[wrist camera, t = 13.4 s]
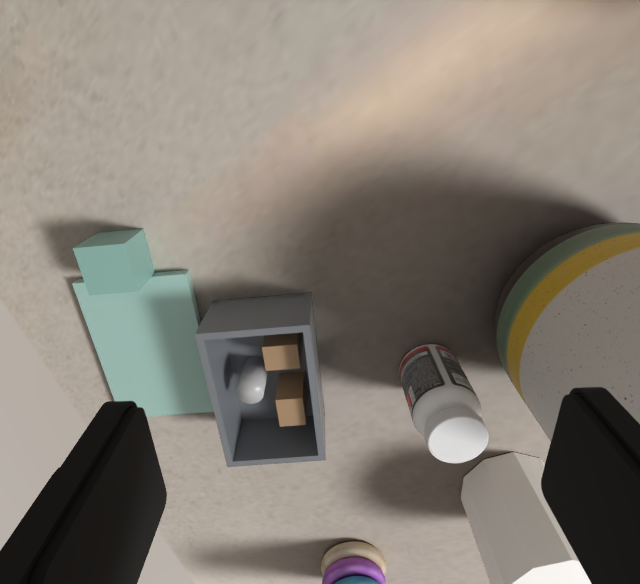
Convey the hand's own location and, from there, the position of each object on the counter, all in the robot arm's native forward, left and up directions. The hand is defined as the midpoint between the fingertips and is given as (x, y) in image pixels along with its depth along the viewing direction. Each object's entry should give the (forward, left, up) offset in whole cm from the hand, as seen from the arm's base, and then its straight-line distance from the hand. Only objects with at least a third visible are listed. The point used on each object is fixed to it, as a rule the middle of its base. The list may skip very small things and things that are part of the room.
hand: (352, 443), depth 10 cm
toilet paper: (+35, +17, -28) cm, 48 cm away
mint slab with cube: (+11, -18, -28) cm, 35 cm away
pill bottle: (+18, +8, -28) cm, 34 cm away
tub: (+16, -7, -28) cm, 32 cm away
